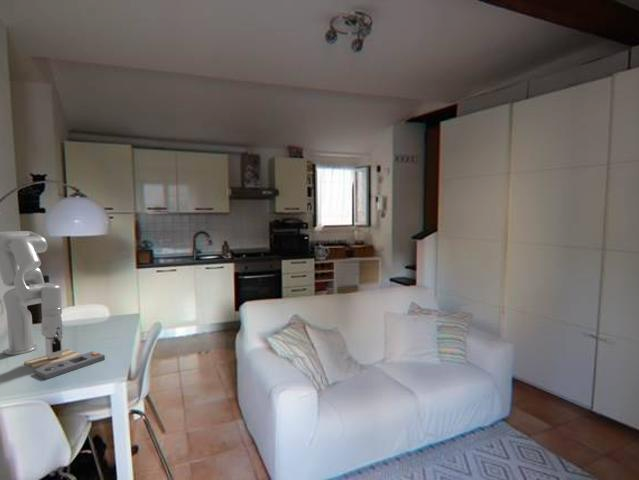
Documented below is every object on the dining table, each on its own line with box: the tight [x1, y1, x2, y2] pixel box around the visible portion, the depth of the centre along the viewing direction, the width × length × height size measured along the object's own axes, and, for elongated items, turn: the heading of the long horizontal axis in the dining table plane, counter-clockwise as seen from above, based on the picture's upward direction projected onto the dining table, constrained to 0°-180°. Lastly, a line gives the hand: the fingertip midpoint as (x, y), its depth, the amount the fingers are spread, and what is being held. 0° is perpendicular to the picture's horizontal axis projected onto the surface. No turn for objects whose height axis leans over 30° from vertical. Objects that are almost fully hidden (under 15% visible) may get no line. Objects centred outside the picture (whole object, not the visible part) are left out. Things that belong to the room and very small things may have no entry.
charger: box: [44, 335, 63, 359], centre depth 171 cm, size 5×5×10 cm
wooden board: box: [24, 348, 83, 369], centre depth 171 cm, size 14×18×1 cm
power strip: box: [33, 351, 106, 380], centre depth 164 cm, size 10×24×3 cm, turn 150°
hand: (53, 349), depth 171 cm, fingers closed on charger, 4 cm apart
